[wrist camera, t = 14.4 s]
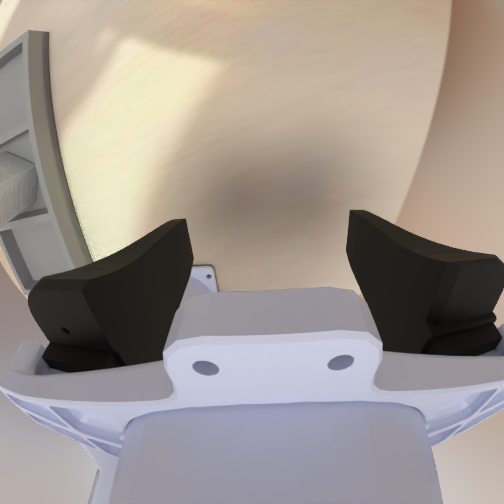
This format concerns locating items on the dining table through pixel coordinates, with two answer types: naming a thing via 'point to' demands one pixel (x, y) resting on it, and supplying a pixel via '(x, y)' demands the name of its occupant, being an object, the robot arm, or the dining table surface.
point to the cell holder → (47, 165)
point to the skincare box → (15, 186)
